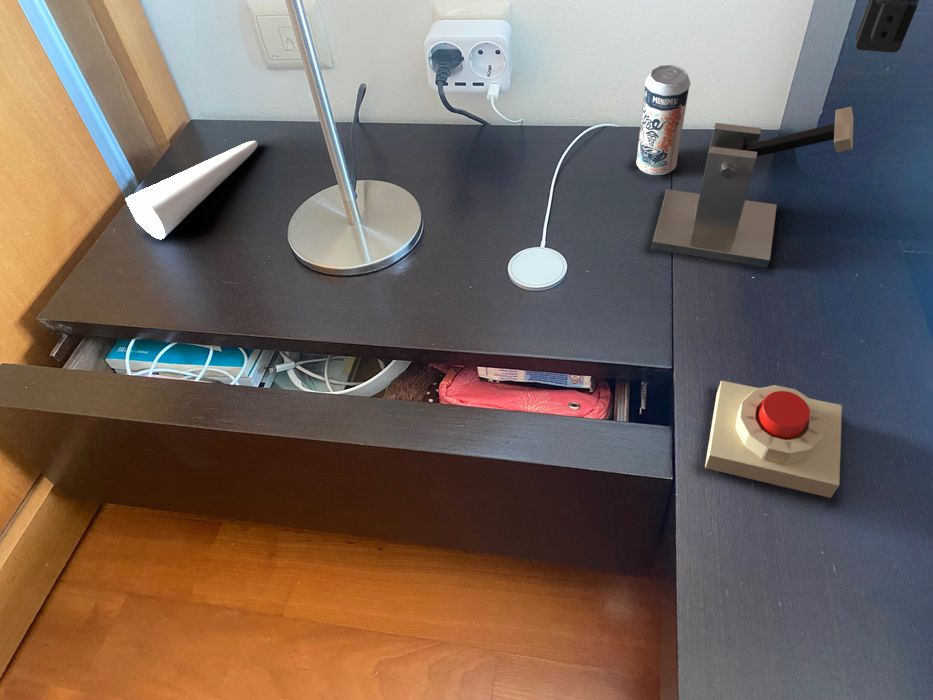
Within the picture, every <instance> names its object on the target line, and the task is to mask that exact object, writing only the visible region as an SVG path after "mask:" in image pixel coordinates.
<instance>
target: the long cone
mask: <svg viewBox="0 0 933 700" xmlns="http://www.w3.org/2000/svg"><path fill="white" fill-rule="evenodd" d="M258 145H259V144H258V142H257V141H256V140H252V141H251V140H250V141H247V142H245V143H242V144H240V145H237V146H235V147H234V148H231V149H229V150H227V151H225V152H223V153H220V154H218V155H216V156H214V157H212V158H210V159H208V160H205V161H203V162H201V163H199V164H196V165H195V166H192V167H190V168H188V169H186V170H183V171H182V172H179V173H177V174H175V175H173V176H171V177H169V178H166V179H164V180H161V181H160V182H158V183H156V184H153V185H151V186H149V187H146V188H144V189H141V190H139V191H138V192H136V193H134V194H131V195H129V196H128V197H126V198H125V201H126V203H127V206H128V207H129V209H130V212H131V213H132V215H133V217H134V219H135V221H136V223H137V224H139V225H140V226H141V228H143V229H144V230H145V231H146V232H147V233H148V234H149V235H151V236H152V237H154V238H156V239H159V240H162V239H163V240H164V239H165V237H167V236H168V235H169V234H170V233H171V232H172V231H173V230H174V229H175V228H176V227H177V226H178V225H179V224H181V222H182V221H183V220H184V219H185V218H186V217H187V216H188V215H190V213H192V212H193V211H194V210H195V209H196V208H197V207H198V206H199V205H200V204H201V203H202V202H203V201H204V200H205V199H206V198H207V197H209V195H210V194H211V193H212V192H214V190H215V189H216V188H218V187H219V186H220V185H221V184H222V183H223V182H224V181H225V180H226V179H227V178H228V177H229V176H230V175H231V174H233V172H234V171H236V170H237V168H238V167H240V166H241V165H242V164H243V163H244V162H245V161H246V160H247V159H248V158H249V157H250V156H251V155H252V154H253V153H254V152H255V151H256V149H257V148H258Z"/></svg>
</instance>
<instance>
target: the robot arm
mask: <svg viewBox="0 0 933 700" xmlns="http://www.w3.org/2000/svg"><path fill="white" fill-rule="evenodd" d="M919 4H920V0H867V3H866V6H865V9H864V11H863V14H862V17H861V20H860V22H859V26H858V29H857V31H856V34H855V47H856V50H858V51H869V52H879V53H881V52H883V53H897V52H899V51H900V49H901V48H902V45H903V43H904V40H905V38H906V35H907V32H908V31H909V28H910V26H911V23H912V20H913V18H914V16H915V13H916V11H917V8H918V6H919Z"/></svg>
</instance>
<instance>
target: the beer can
mask: <svg viewBox="0 0 933 700" xmlns="http://www.w3.org/2000/svg"><path fill="white" fill-rule="evenodd" d="M690 87H691V80H690V77H689V75H688V72H687V71H686V70H685V69H684V68H683V67H681V66H677V65H673V64H667V65H666V64H664V65H659V66H657V67H655V68H653V69H652V70H651V71H650V73H649V74H648V76H647V78H646V79H645V82H644V93H643V102H642V111H641V119H640V128H639V136H638V146H637V153H636V161H635V162H636V163H635V164H636V166H637V167H638V169H639V170H640V171H642V172H643V173H644V174H647V175H651V176H660V175H661V176H662V175H663V176H664V175H667V174H669V173H671V172H672V171H674V170H675V169H676V167H677V165H678V156H679V150H680V146H681V145H680V144H681V140H682V139H681V138H682V133H683V132H682V131H683V125H684V121H685V114H686V108H687V102H688V98H689V97H688V96H689V90H690Z"/></svg>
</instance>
